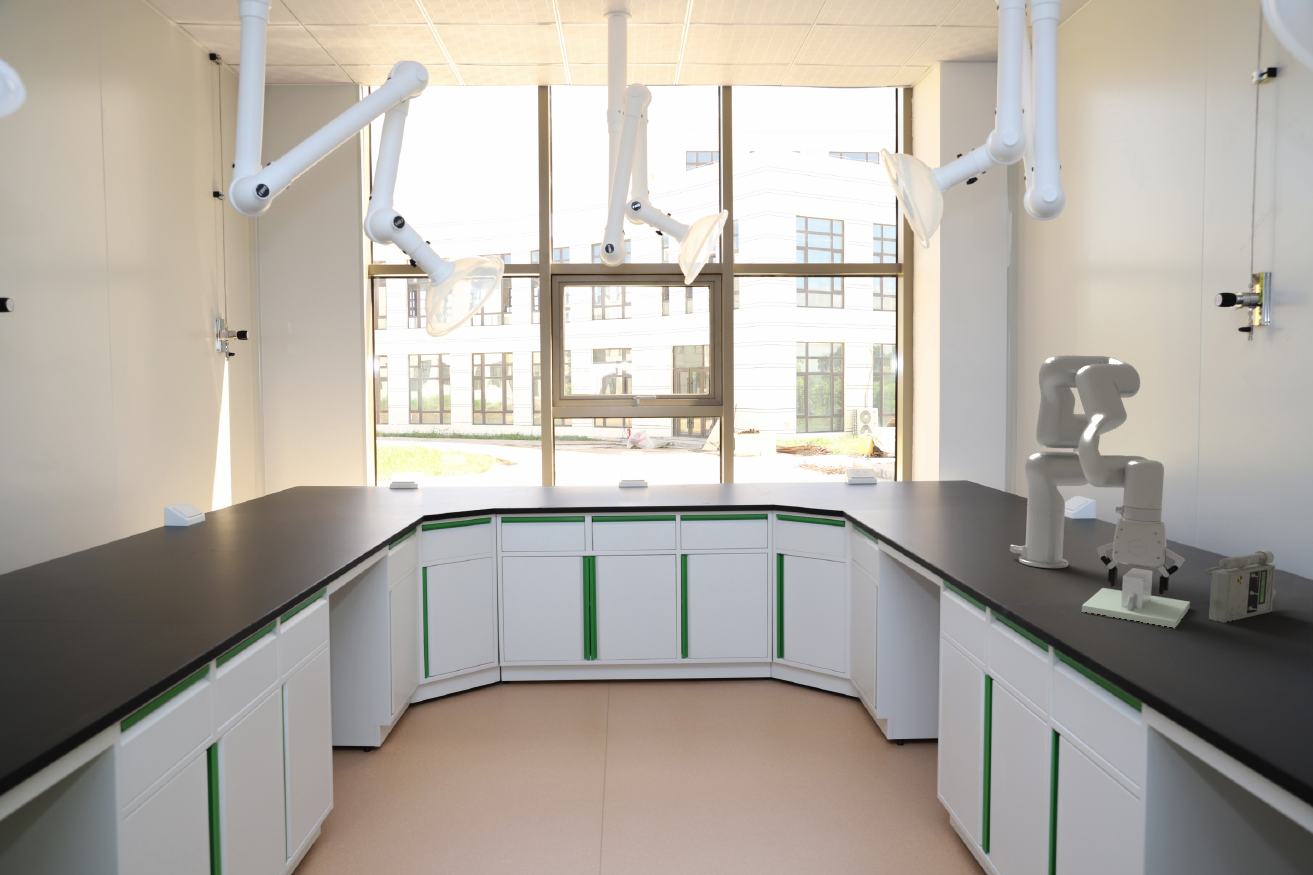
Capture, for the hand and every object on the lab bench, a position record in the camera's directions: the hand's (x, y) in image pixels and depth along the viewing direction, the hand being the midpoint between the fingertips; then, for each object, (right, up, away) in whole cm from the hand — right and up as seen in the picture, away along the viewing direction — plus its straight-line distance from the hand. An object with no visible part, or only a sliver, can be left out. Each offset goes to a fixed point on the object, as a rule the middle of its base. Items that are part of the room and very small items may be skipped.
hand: (1137, 589), depth 187 cm
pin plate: (0, -5, 0) cm, 5 cm away
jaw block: (0, -3, 0) cm, 3 cm away
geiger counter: (+24, -5, -1) cm, 24 cm away
